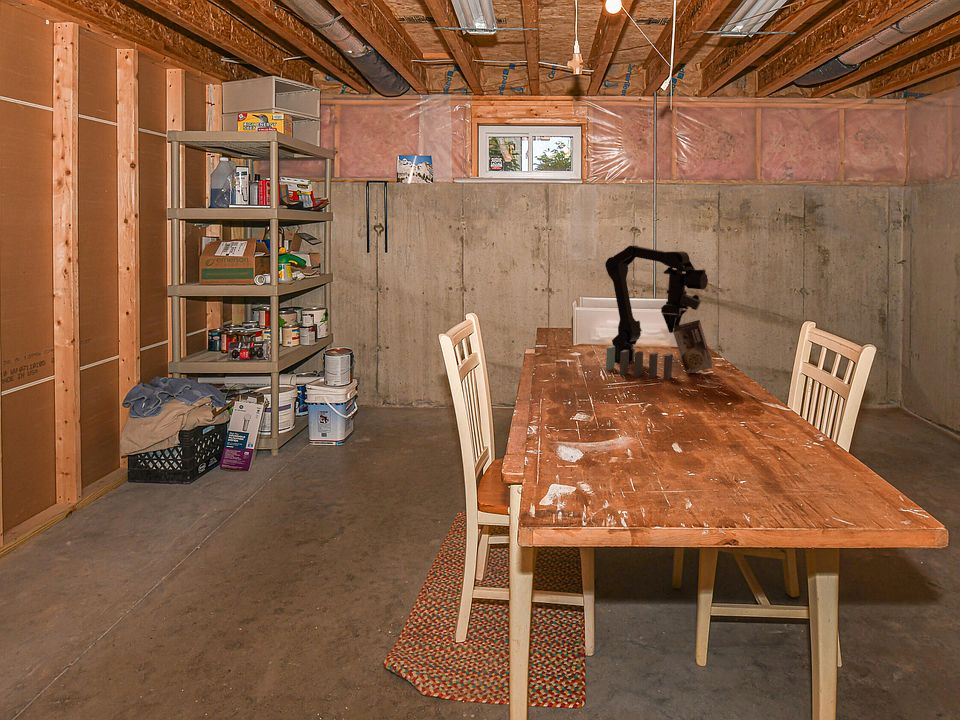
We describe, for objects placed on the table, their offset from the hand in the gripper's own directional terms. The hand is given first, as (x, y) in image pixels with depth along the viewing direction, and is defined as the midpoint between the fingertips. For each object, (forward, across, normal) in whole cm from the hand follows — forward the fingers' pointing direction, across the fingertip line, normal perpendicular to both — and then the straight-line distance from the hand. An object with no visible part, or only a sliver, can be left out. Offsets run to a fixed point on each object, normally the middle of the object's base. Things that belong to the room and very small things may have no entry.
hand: (673, 331), depth 276 cm
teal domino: (+14, -11, +19) cm, 26 cm away
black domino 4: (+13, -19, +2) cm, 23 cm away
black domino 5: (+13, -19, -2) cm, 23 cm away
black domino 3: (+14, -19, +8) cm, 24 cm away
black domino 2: (+14, -18, +12) cm, 26 cm away
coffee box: (+12, -5, -11) cm, 17 cm away
